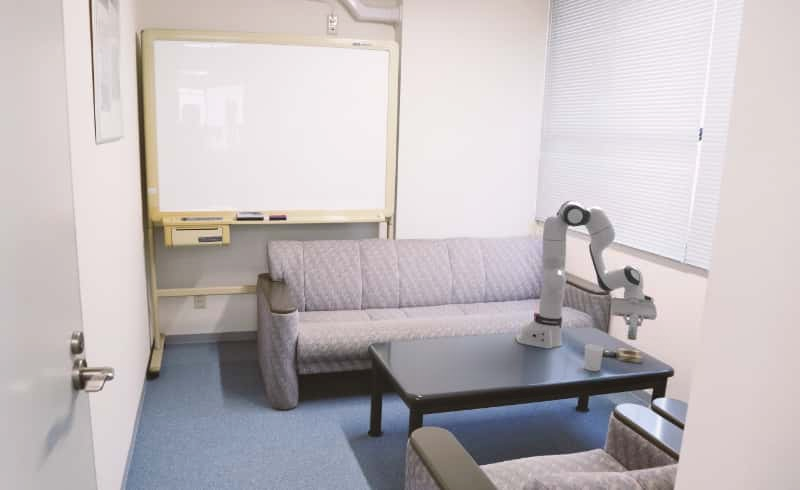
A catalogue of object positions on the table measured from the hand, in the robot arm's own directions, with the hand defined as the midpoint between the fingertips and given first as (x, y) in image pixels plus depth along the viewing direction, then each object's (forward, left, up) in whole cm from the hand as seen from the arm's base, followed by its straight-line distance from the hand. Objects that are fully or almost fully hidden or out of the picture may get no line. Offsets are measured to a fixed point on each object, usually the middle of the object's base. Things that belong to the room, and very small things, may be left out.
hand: (633, 324), depth 283 cm
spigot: (0, +1, -7) cm, 7 cm away
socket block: (0, +1, -16) cm, 16 cm away
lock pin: (-10, -1, -14) cm, 18 cm away
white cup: (-18, -20, -17) cm, 32 cm away
